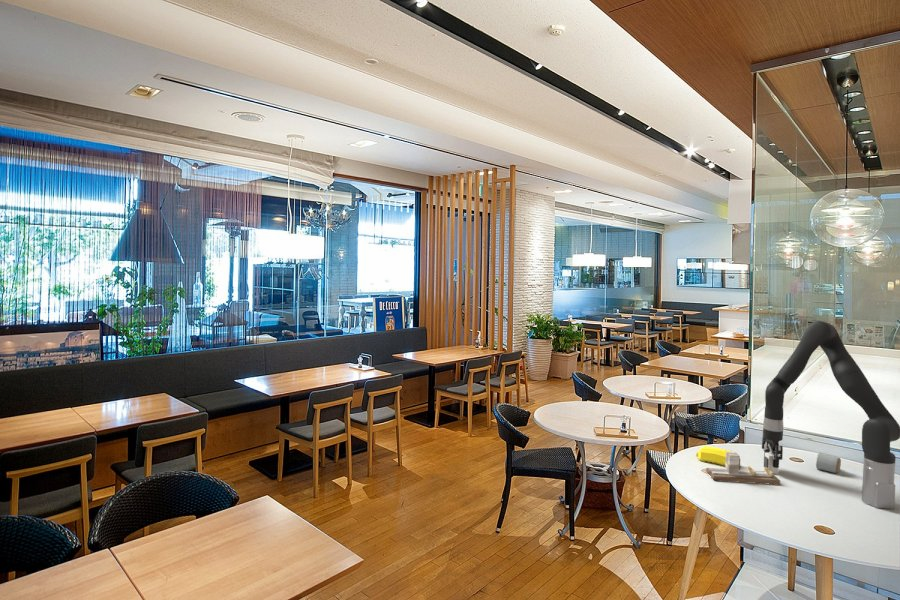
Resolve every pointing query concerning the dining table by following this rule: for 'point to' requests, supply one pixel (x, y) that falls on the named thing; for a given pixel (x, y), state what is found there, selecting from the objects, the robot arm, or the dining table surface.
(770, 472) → the wooden ladder shelf
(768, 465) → the loose white rectangular block
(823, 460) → the ceramic mug
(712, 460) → the yellow faceted pepper
